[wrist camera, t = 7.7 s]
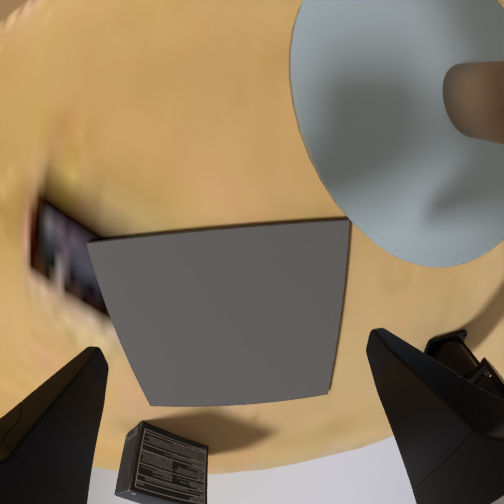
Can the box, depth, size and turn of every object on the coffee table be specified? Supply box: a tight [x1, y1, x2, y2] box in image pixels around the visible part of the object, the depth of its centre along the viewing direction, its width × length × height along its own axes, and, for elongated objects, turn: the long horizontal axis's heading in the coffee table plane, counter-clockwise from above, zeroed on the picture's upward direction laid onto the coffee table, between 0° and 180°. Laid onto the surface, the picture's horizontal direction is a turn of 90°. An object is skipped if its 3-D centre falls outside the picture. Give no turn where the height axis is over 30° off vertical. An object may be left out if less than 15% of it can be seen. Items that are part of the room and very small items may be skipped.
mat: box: [87, 219, 350, 407], centre depth 25 cm, size 20×20×1 cm
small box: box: [115, 422, 209, 504], centre depth 28 cm, size 11×6×10 cm, turn 51°
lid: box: [289, 0, 504, 267], centre depth 9 cm, size 19×19×5 cm
